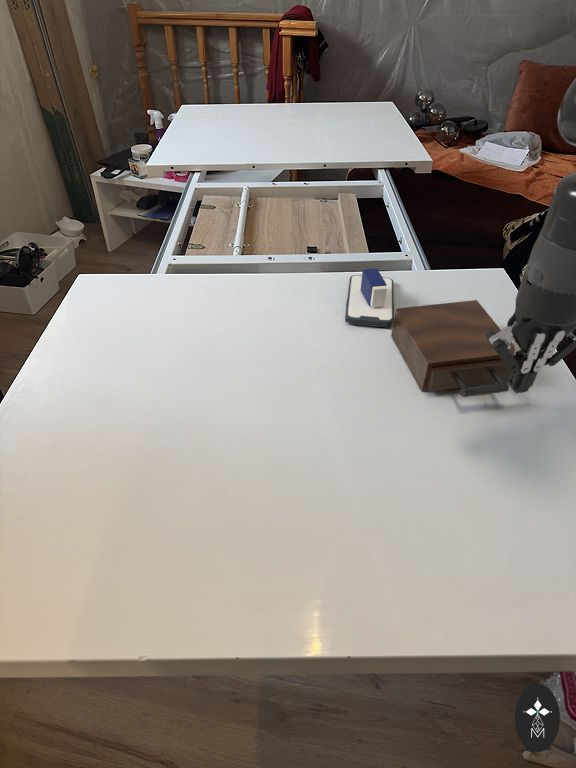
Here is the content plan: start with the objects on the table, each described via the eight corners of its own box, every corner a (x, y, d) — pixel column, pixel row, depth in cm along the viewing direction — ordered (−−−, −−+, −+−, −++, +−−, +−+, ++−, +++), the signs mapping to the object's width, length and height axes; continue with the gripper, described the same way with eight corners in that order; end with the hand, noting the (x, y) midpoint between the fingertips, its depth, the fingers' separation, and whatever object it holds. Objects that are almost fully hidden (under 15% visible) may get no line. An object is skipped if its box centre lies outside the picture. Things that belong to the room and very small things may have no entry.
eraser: (374, 288, 102) (376, 268, 100) (385, 307, 98) (388, 286, 95) (360, 289, 102) (362, 269, 99) (370, 309, 97) (373, 288, 94)
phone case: (349, 280, 108) (343, 325, 96) (349, 273, 107) (344, 317, 95) (393, 284, 107) (393, 329, 95) (394, 277, 106) (394, 322, 94)
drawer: (524, 399, 81) (532, 380, 78) (439, 410, 79) (445, 391, 76) (472, 330, 94) (478, 312, 91) (399, 339, 92) (402, 320, 89)
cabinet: (508, 380, 85) (519, 352, 81) (421, 391, 83) (428, 363, 79) (469, 327, 96) (476, 299, 92) (390, 335, 94) (395, 308, 90)
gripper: (595, 251, 62) (547, 364, 74) (490, 262, 61) (458, 376, 72) (638, 284, 57) (579, 401, 69) (524, 298, 55) (483, 415, 67)
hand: (517, 388), depth 70 cm, fingers closed
